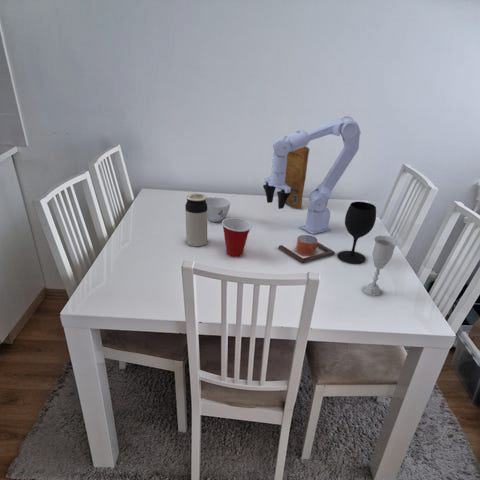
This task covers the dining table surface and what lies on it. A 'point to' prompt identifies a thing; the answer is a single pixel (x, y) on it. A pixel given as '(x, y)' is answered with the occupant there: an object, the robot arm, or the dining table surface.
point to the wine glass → (358, 228)
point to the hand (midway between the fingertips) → (275, 205)
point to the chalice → (380, 259)
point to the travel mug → (196, 219)
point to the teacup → (217, 208)
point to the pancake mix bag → (296, 175)
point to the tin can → (306, 245)
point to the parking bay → (304, 260)
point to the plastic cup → (235, 235)
